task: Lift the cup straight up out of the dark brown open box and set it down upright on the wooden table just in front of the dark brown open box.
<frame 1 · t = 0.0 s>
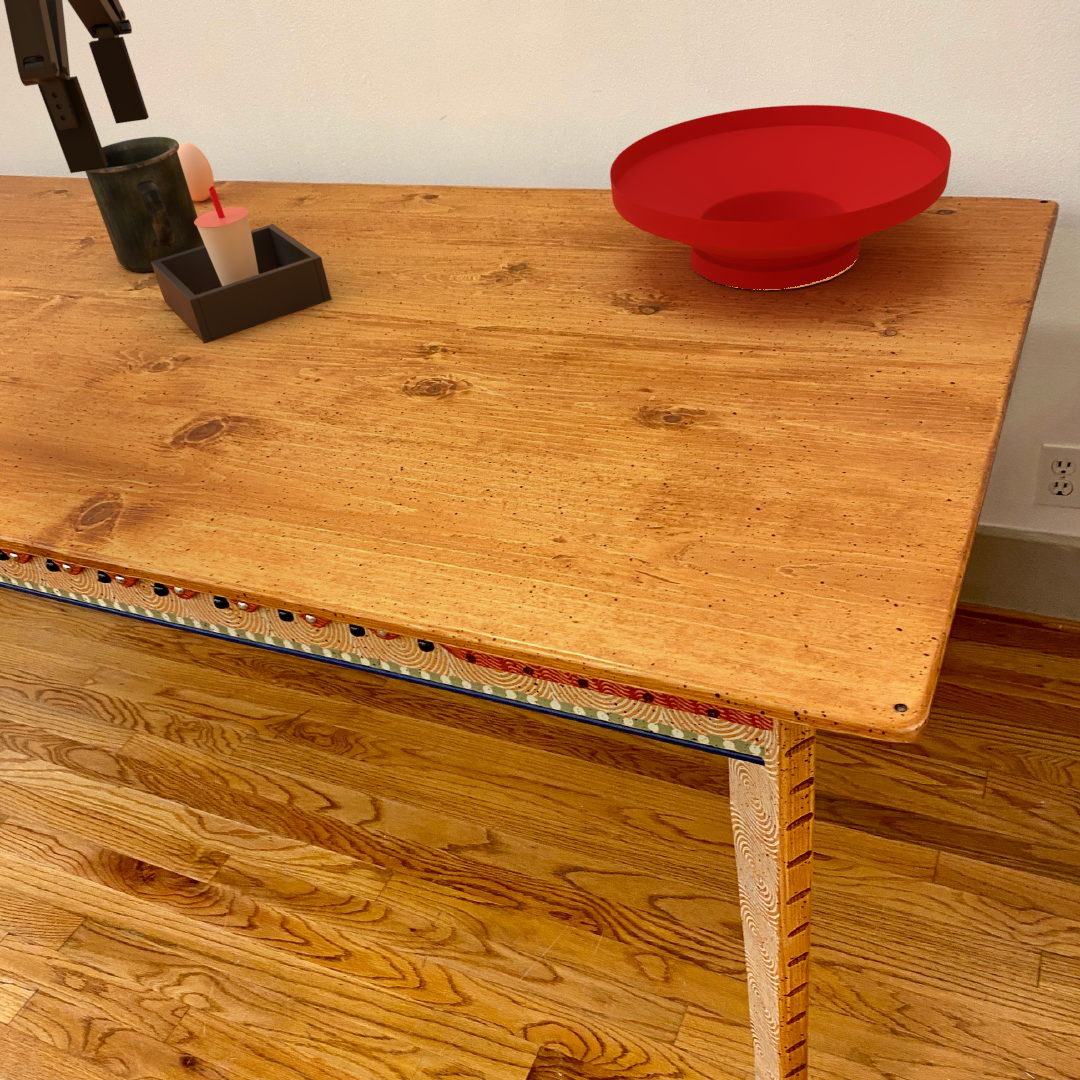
hand: (112, 143, 89), 21 cm above the table, tool pointing down, fingers open, 13 cm apart
mug: (167, 261, 125), on the table
bowl: (774, 259, 106), on the table
egg: (202, 201, 142), on the table
dark brown open box: (246, 300, 113), on the table
cup: (246, 302, 113), resting in dark brown open box
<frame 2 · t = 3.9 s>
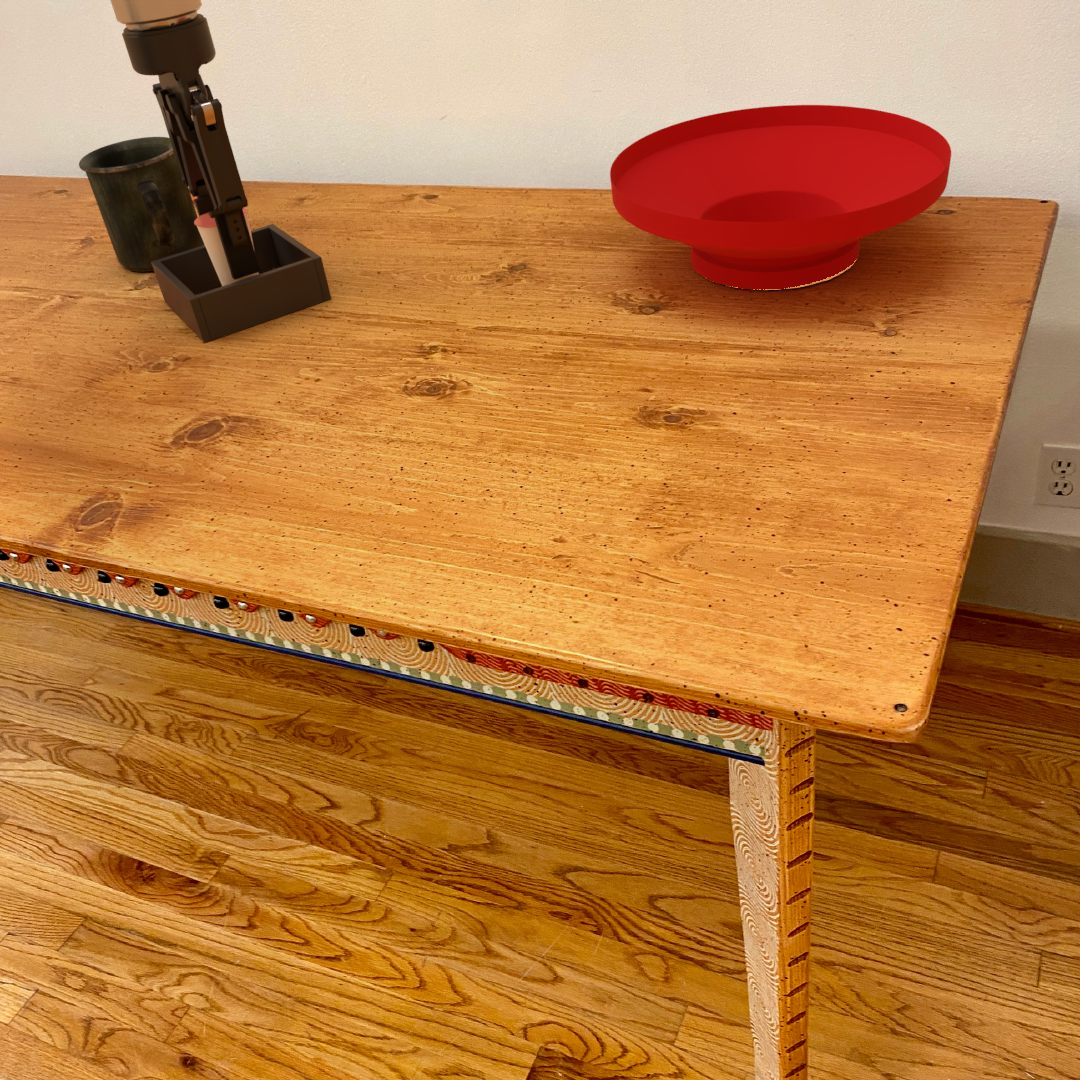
hand: (236, 265, 111), 4 cm above the table, tool pointing down, fingers closed on cup, 5 cm apart
cup: (246, 302, 113), resting in dark brown open box, touching gripper
everything else where it was.
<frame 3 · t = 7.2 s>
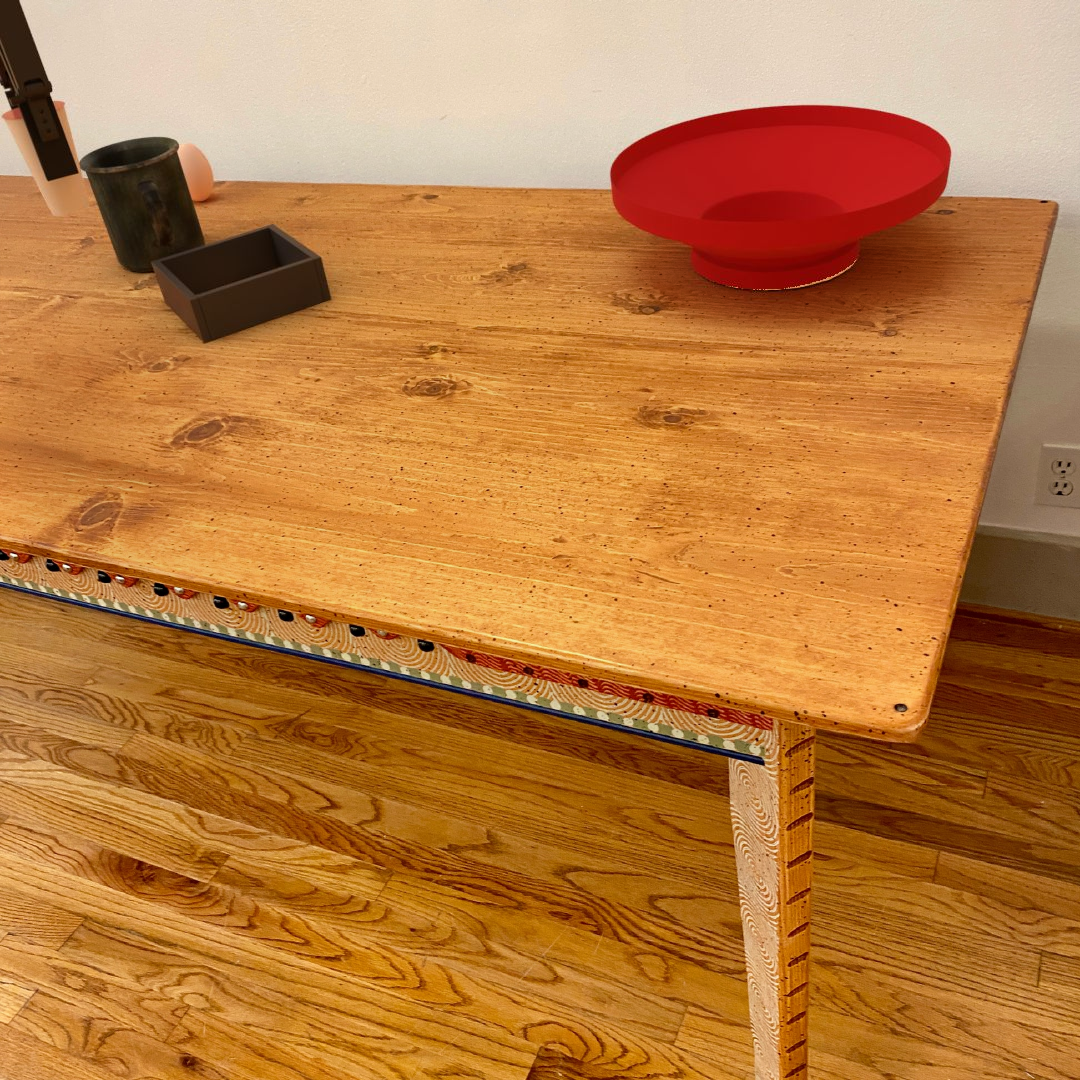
hand: (55, 168, 98), 17 cm above the table, tool pointing down, fingers closed on cup, 5 cm apart
cup: (72, 211, 100), point 13 cm above the table, touching gripper
everything else where it was.
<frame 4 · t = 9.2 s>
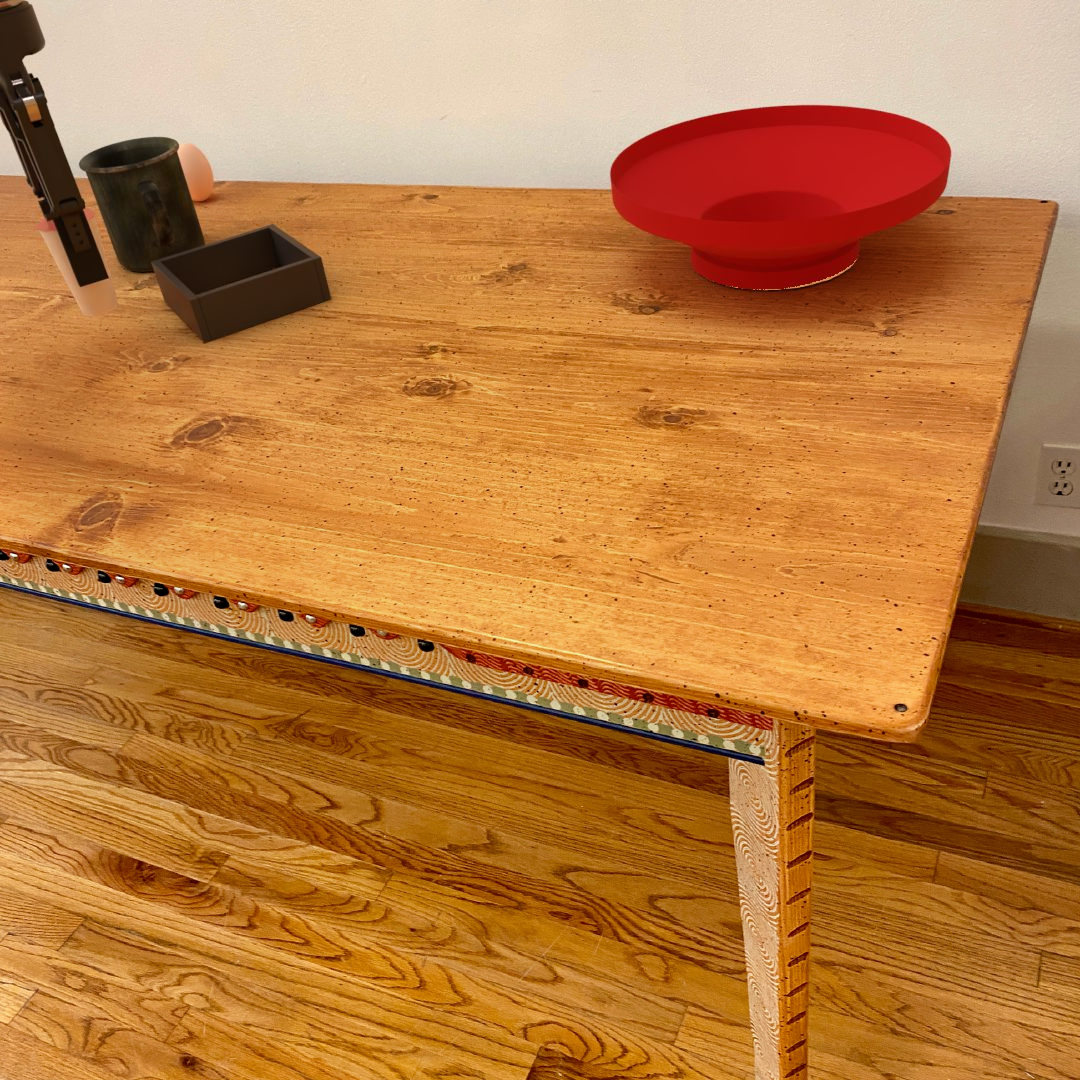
hand: (86, 272, 103), 8 cm above the table, tool pointing down, fingers closed on cup, 5 cm apart
cup: (101, 310, 106), point 4 cm above the table, touching gripper
everything else where it was.
when the fingers open (4 cm above the table, at t = 10.5 s): cup stays where it is, on the table.
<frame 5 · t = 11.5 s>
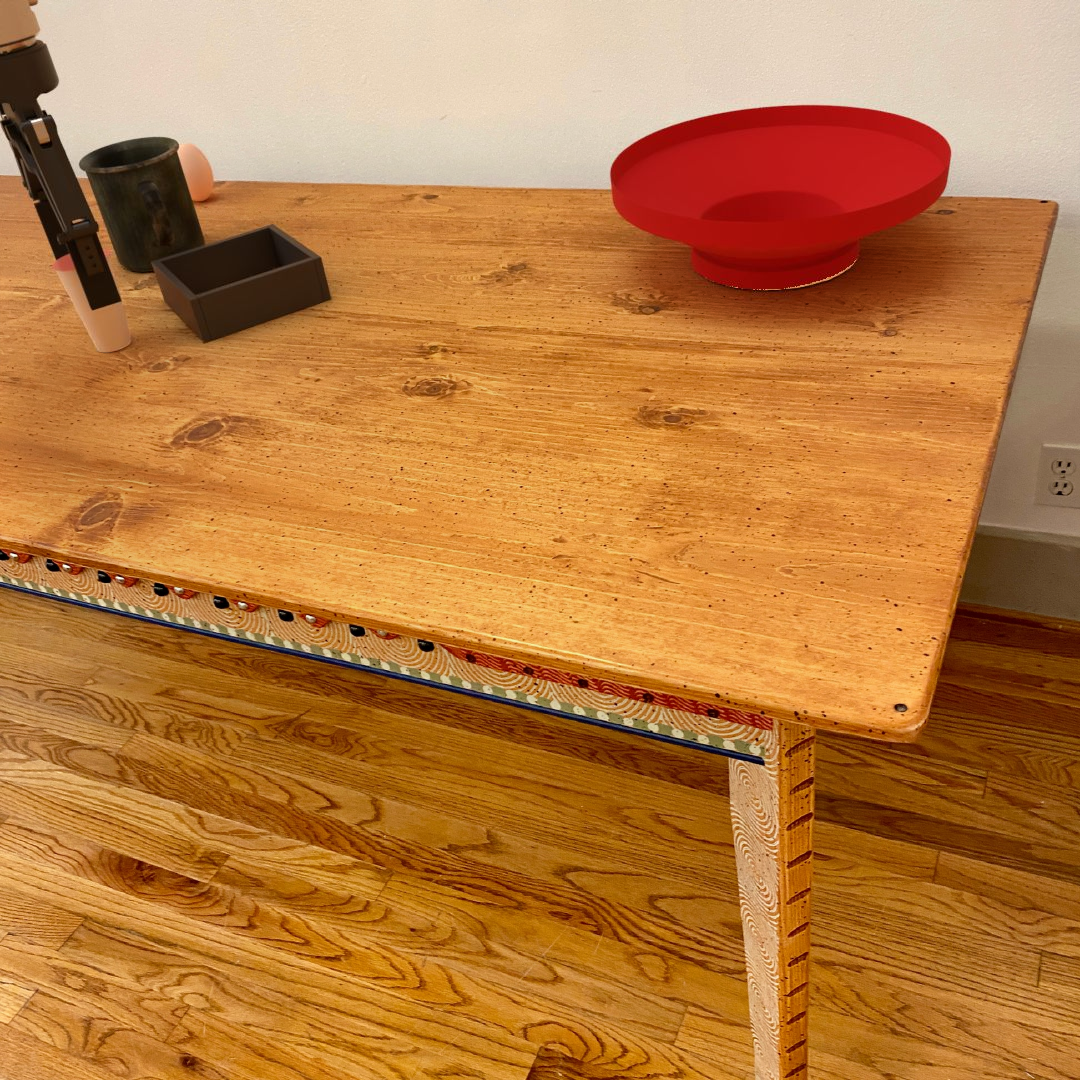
hand: (89, 284, 104), 6 cm above the table, tool pointing down, fingers open, 13 cm apart
cup: (115, 346, 108), on the table
everything else where it was.
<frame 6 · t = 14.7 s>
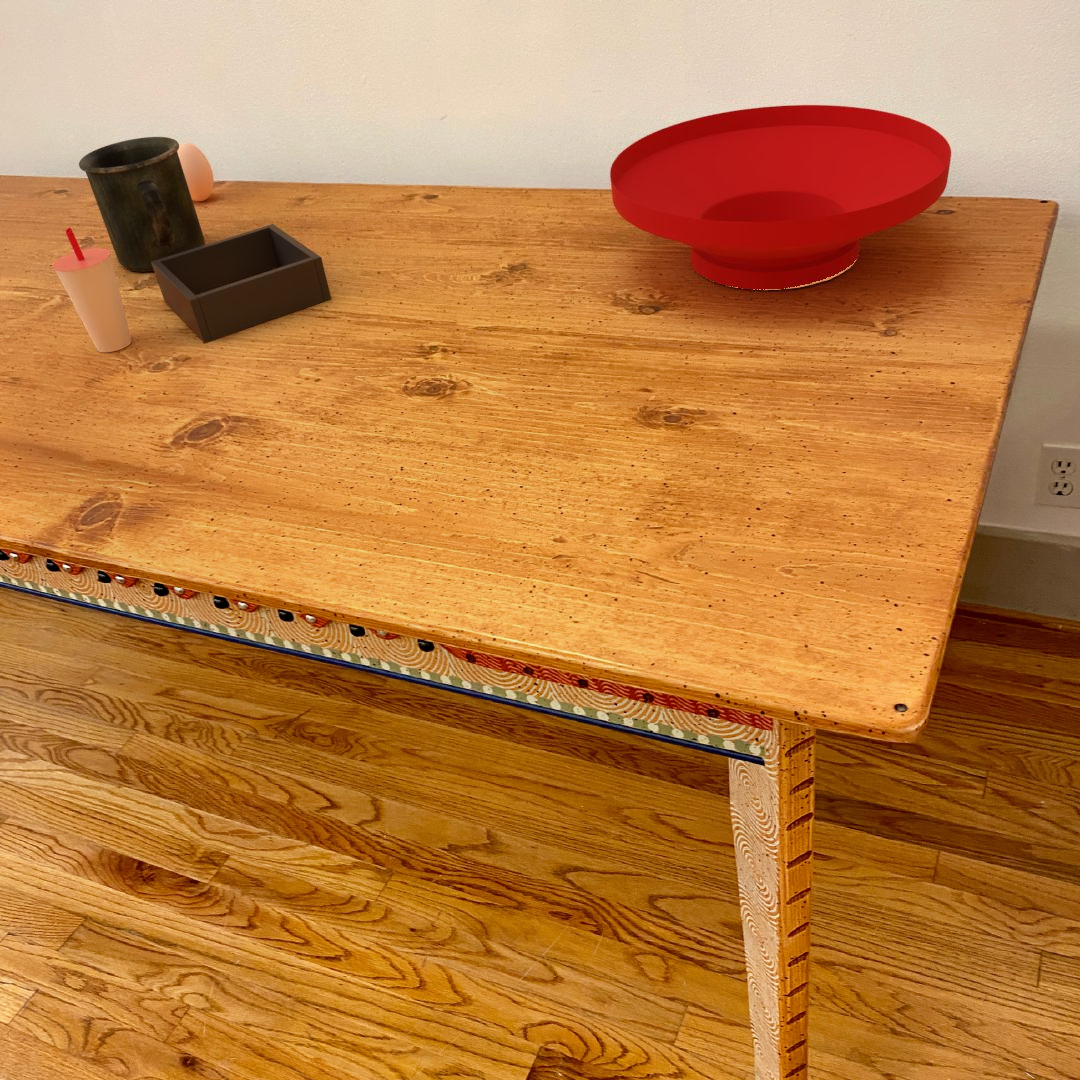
nothing on the table moved.
at the end: cup 0.1 cm from the target spot, on the table; cup tilted 0°; the gripper is holding nothing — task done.
